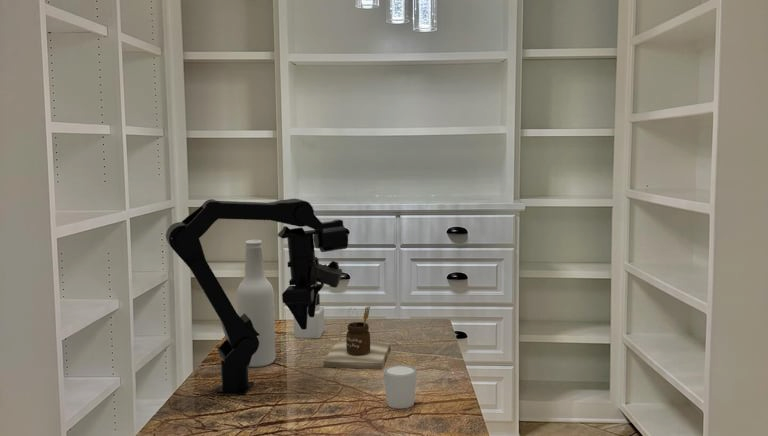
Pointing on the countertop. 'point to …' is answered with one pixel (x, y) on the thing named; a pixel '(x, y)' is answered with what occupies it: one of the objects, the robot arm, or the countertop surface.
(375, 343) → the ash cloth
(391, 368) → the white cup
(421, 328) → the countertop surface
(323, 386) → the countertop surface
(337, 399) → the countertop surface
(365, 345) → the utensil holder
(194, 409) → the countertop surface
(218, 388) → the robot arm
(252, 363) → the alcohol
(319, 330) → the medicine bottle
